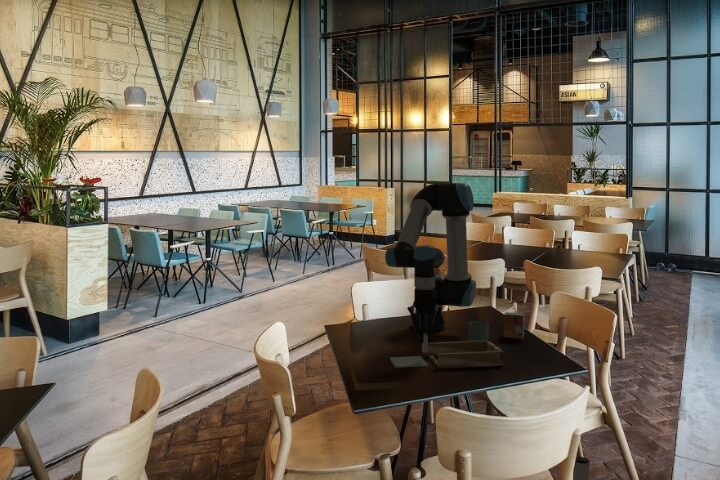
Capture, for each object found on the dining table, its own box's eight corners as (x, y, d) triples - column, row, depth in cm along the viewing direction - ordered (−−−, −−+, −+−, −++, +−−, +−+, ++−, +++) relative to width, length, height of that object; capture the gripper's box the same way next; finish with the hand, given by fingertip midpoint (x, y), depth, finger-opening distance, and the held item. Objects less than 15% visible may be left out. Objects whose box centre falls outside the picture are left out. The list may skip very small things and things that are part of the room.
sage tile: (389, 358, 223) (389, 357, 223) (420, 357, 224) (420, 356, 224) (395, 367, 211) (395, 366, 211) (428, 366, 213) (428, 365, 213)
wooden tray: (427, 355, 226) (427, 342, 226) (488, 352, 229) (488, 340, 229) (438, 368, 209) (438, 354, 209) (504, 365, 212) (504, 351, 212)
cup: (488, 350, 233) (488, 325, 232) (468, 349, 234) (468, 324, 234) (488, 345, 240) (488, 321, 240) (468, 344, 242) (468, 320, 241)
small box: (503, 338, 252) (503, 314, 251) (505, 335, 257) (505, 311, 256) (522, 340, 249) (523, 315, 248) (524, 337, 254) (524, 312, 253)
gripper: (409, 290, 211) (409, 355, 213) (444, 289, 213) (444, 353, 214) (405, 287, 218) (405, 349, 220) (439, 285, 220) (439, 348, 222)
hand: (424, 351), depth 217 cm, fingers closed
